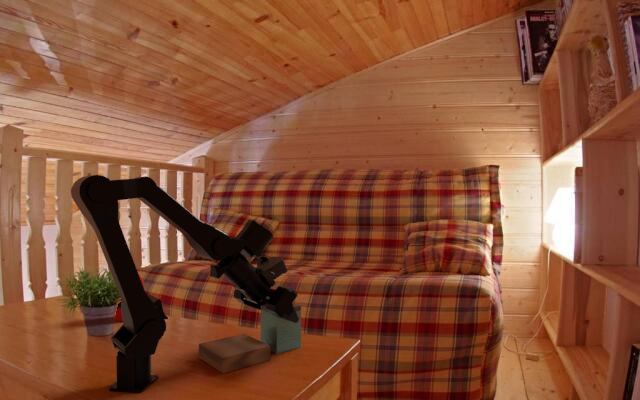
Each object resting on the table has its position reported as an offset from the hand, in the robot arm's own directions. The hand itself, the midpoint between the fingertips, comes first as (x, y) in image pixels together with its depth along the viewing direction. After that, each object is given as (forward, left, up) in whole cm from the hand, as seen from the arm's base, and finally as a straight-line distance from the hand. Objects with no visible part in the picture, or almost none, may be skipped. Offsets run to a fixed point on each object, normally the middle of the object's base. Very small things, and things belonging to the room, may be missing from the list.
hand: (285, 316), depth 106 cm
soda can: (+17, +49, -7) cm, 52 cm away
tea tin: (-1, +1, -7) cm, 7 cm away
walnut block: (-10, +9, -7) cm, 15 cm away
